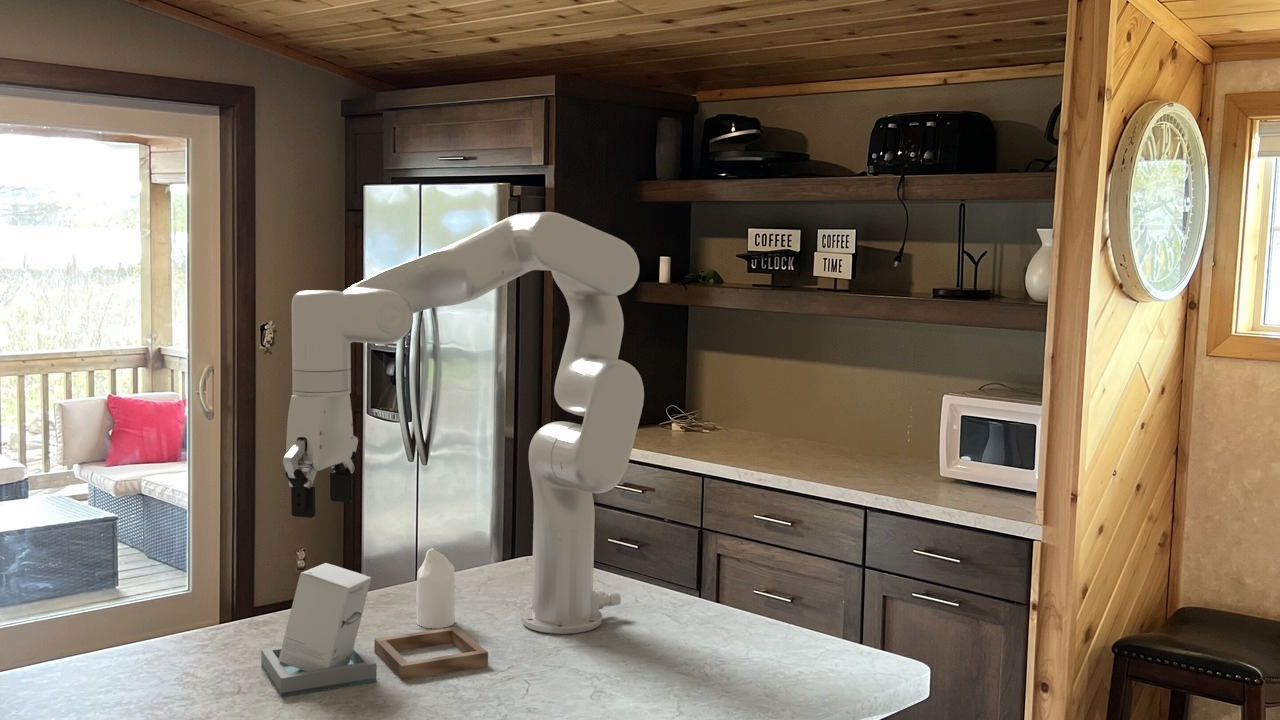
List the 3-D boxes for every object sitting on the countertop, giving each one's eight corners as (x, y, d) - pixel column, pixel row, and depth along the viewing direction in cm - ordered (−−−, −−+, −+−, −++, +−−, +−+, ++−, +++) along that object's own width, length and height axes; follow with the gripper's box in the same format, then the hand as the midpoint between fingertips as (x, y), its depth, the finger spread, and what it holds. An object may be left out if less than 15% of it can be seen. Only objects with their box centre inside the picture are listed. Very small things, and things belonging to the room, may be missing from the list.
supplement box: (325, 679, 149) (348, 588, 148) (276, 661, 150) (298, 571, 150) (351, 664, 156) (373, 576, 155) (303, 647, 158) (325, 560, 157)
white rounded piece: (460, 544, 178) (448, 553, 172) (459, 619, 179) (447, 630, 173) (423, 542, 179) (410, 550, 173) (422, 616, 180) (410, 627, 174)
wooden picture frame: (456, 639, 169) (456, 626, 169) (487, 666, 158) (488, 652, 158) (374, 652, 163) (374, 638, 163) (401, 680, 152) (401, 666, 152)
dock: (351, 653, 162) (351, 636, 162) (376, 681, 151) (376, 663, 151) (261, 666, 156) (261, 648, 156) (281, 697, 145) (281, 678, 145)
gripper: (330, 375, 161) (331, 494, 162) (259, 388, 144) (261, 520, 146) (378, 377, 159) (378, 497, 161) (312, 391, 142) (313, 525, 144)
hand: (323, 508), depth 153 cm, fingers open, 9 cm apart
